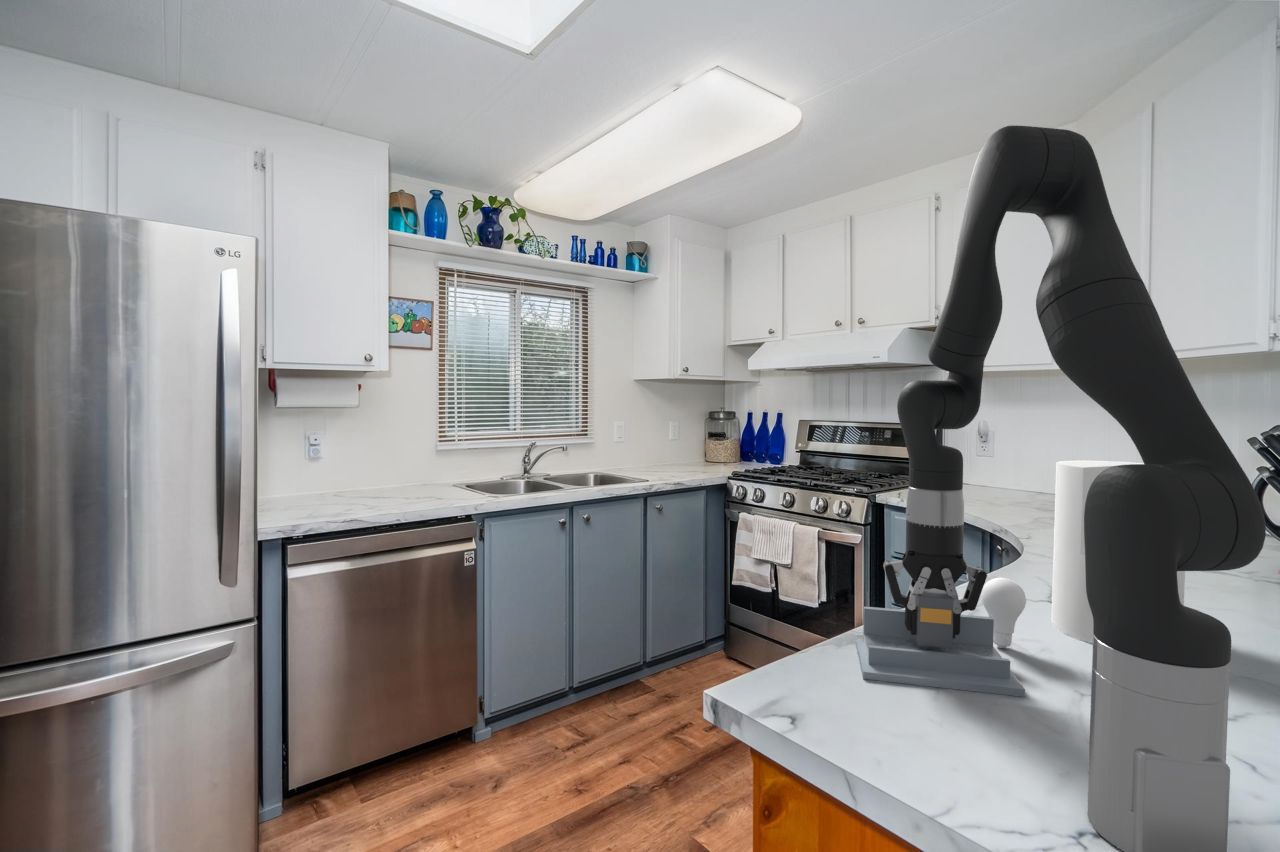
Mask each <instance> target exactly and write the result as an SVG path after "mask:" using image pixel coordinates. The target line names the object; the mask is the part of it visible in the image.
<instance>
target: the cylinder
mask: <svg viewBox="0 0 1280 852" xmlns="http://www.w3.org/2000/svg"><path fill="white" fill-rule="evenodd" d="M1130 464H1144V462H1134V461H1122V460H1121V461H1118V460H1093V459H1092V460H1090V459H1089V460H1087V459H1086V460H1081V459H1080V460H1076V459H1075V460H1060V461H1056V463H1055V489H1054V490H1055V493H1054V521H1053V522H1054V523H1053V551H1052V552H1053V553H1052V556H1053V557H1052V559H1053V560H1052V583H1051V584H1052V589H1051V616H1050V617H1051V620H1050V621H1051V625H1052V626H1053V627H1054V628H1055V629H1056V630H1057V631H1059V632H1060V633H1062V634H1065V635H1066V636H1068V635H1069V637H1071V638H1073V639H1076V640H1079V641H1082V642H1084V643H1088V644H1091V645H1093V626H1094V625H1093V615H1092V612H1091V609H1090V606H1089V602H1088V599H1087V593H1086V570H1085V541H1084V510H1085V502H1086V497H1087V494H1088V491H1089V488H1090V486H1091V484H1092V482H1093V481H1094V479H1095V478H1096V477H1097V476H1098V475H1099V474H1100V473H1101V472H1102V471H1104V470H1105V469H1107V468H1110V467H1113V466H1118V465H1130ZM1177 581H1178V593H1179V598H1180V602H1181V604H1182V605H1183V606H1185V585H1186V583H1185V581H1186V571H1177Z"/></svg>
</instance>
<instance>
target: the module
mask: <svg viewBox="0 0 1280 852" xmlns="http://www.w3.org/2000/svg"><path fill="white" fill-rule="evenodd" d="M916 610H917V628H916V635H913V636H914V638H915V640H916V642H917V644H918V645H921V646H931V647H942V648H952V642H953V598H949V597H948V596H947V594H946V593H945V591H944V590H938V589H935V588H933V589H924V591H923V593H922V596H921V595H918V596H917V606H916Z"/></svg>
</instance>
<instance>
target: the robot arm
mask: <svg viewBox="0 0 1280 852" xmlns="http://www.w3.org/2000/svg"><path fill="white" fill-rule="evenodd" d="M1007 212H1008V213H1009V212H1010V213H1011V212H1012V213H1022V214H1032V215H1036V216H1037V217H1038V218H1040V220H1041V221H1042V222H1043V224H1044V226H1045V229H1046V230H1047V233H1048V235H1049V239H1050V242H1051V245H1052V256H1051V258H1050V261H1049V263H1048V265H1047V267H1046V269H1045V271H1044V274H1043V276H1042V279H1041V281H1040V284H1039V286H1038V290H1037V292H1036V293H1037V294H1036V297H1035V298H1036V299H1035V307H1036V308H1035V309H1036V315H1037V319H1038V322H1039V324H1040V327H1041V330H1042V333H1043V336H1044V339H1045V341H1046V343H1047V347H1048V350H1049V352H1050V355H1051V357H1052V358H1053V360H1054V362H1055V364H1056V365H1057V366H1058V368H1059V369H1060V370H1061V371H1062V372H1063V374H1065V376H1066V377H1067V378H1068V379H1070V381H1071V382H1072V383H1073V384H1075V386H1077V387H1078V388H1079V389H1080V390H1081V391H1082V392H1083V393H1084V394H1086V395H1087V396H1088V397H1089V398H1090V399H1092V400H1093V401H1094V402H1095V403H1096V404H1098V405H1099V407H1101V408H1103V410H1105V411H1106V412H1107V413H1108V414H1109V415H1110V416H1111V417H1112V418H1114V420H1116V422H1118V424H1119V425H1120V426H1121V427H1122V428H1123V429H1124V430H1125V432H1126V433H1127V435H1128V436H1129V438H1130V439H1131V441H1132V442H1133V444H1134V446H1135V447H1136V450H1137V452H1138V453H1139V456H1140V457H1141V458H1140V459H1141V460H1142V463H1144V464H1130V465H1118V466H1113V467H1110V468H1107V469H1105V470H1104V471H1102V472H1101V473H1100V474H1099V475H1098V476H1097V477H1096V478H1095V479H1094V481H1093V482H1092V484H1091V486H1090V488H1089V491H1088V494H1087V497H1086V502H1085V510H1084V541H1085V570H1086V593H1087V599H1088V602H1089V606H1090V609H1091V612H1092V615H1093V625H1094V626H1093V644H1092V659H1091V660H1092V661H1091V662H1092V664H1091V685H1090V713H1089V714H1090V716H1089V718H1090V719H1089V721H1090V722H1089V747H1088V750H1089V751H1088V770H1087V771H1088V784H1087V786H1088V787H1087V813H1086V814H1087V817H1088V820H1089V823H1090V824H1091V826H1092V827H1093V829H1094V830H1095V831H1096V832H1097V833H1098V834H1099V835H1100V836H1101V837H1102V838H1103V839H1105V840H1107V842H1109V843H1110V844H1111V845H1113V846H1114V847H1116V848H1118V849H1120V850H1121V851H1122V852H1227V851H1228V832H1229V813H1230V811H1229V810H1230V809H1229V807H1230V788H1231V787H1230V785H1231V784H1230V783H1231V767H1230V766H1229V765H1228V763H1227V743H1228V721H1229V720H1228V718H1229V717H1228V715H1229V696H1230V677H1231V673H1230V672H1231V659H1232V635H1231V631H1230V630H1229V628H1228V627H1227V625H1225V623H1224V622H1222V621H1221V620H1219V619H1218V618H1216V617H1214V616H1212V615H1210V614H1208V613H1205V612H1202V611H1199V610H1197V609H1194V608H1191V607H1188V606H1186V605H1184V606H1183V605H1182V604H1181V602H1180V598H1179V593H1178V581H1177V571H1185V572H1219V571H1231V570H1237V569H1241V568H1243V567H1246V566H1248V565H1250V564H1251V563H1252V562H1253V561H1255V560H1256V559H1257V558H1258V556H1259V555H1260V554H1261V551H1262V550H1263V548H1264V544H1265V540H1266V534H1267V533H1266V531H1267V528H1266V527H1267V525H1266V519H1265V514H1264V510H1263V507H1262V503H1261V501H1260V499H1259V496H1258V494H1257V492H1256V490H1255V487H1254V486H1253V484H1252V482H1251V480H1250V479H1249V478H1248V476H1247V474H1246V472H1245V471H1244V469H1243V468H1242V466H1241V464H1240V463H1239V461H1238V460H1237V458H1236V456H1235V455H1234V453H1233V452H1232V450H1231V449H1230V447H1229V446H1228V444H1227V443H1226V441H1225V438H1223V436H1222V435H1221V433H1220V431H1219V430H1218V429H1217V427H1216V425H1215V424H1214V422H1213V421H1212V419H1211V417H1210V415H1209V413H1208V412H1207V410H1206V409H1205V408H1204V406H1203V403H1202V402H1201V401H1200V399H1199V397H1198V394H1197V393H1196V391H1195V390H1194V387H1193V385H1192V383H1191V381H1190V379H1189V377H1188V375H1187V373H1186V371H1185V369H1184V368H1183V366H1182V364H1181V362H1180V359H1179V358H1178V355H1177V354H1176V352H1175V350H1174V348H1173V345H1172V343H1171V342H1170V339H1169V338H1168V335H1167V333H1166V330H1165V328H1164V325H1163V323H1162V321H1161V320H1162V319H1161V317H1160V315H1159V312H1158V311H1157V308H1156V307H1155V304H1154V302H1153V300H1152V297H1151V296H1150V294H1149V292H1148V289H1147V287H1146V285H1145V283H1144V281H1143V279H1142V277H1141V275H1140V273H1139V272H1138V270H1137V268H1136V266H1135V263H1134V262H1133V259H1132V257H1131V255H1130V252H1129V250H1128V248H1127V246H1126V243H1125V242H1126V241H1124V238H1123V235H1122V233H1121V231H1120V228H1119V226H1118V224H1117V222H1116V219H1115V217H1114V213H1113V211H1112V208H1111V204H1110V201H1109V198H1108V194H1107V191H1106V188H1105V184H1104V179H1103V176H1102V173H1101V169H1100V167H1099V162H1098V159H1097V157H1096V155H1095V151H1094V149H1093V147H1092V145H1091V143H1090V142H1089V141H1088V140H1087V139H1086V137H1085V136H1083V135H1082V134H1080V133H1078V132H1075V131H1073V130H1069V129H1062V128H1052V127H1042V126H1041V127H1040V126H1029V125H1007V126H1004V127H1001V128H999V129H998V130H996V131H994V133H992V135H991V136H990V137H988V139H987V140H986V141H985V142H984V144H983V146H982V147H981V149H980V151H979V153H978V155H977V158H976V160H975V163H974V166H973V170H972V172H971V176H970V180H969V184H968V189H967V193H966V198H965V204H964V209H963V214H962V220H961V226H960V230H959V235H958V241H957V245H956V254H955V259H954V264H953V268H952V269H953V270H952V275H951V278H950V279H951V280H950V285H949V289H948V292H947V295H946V299H945V302H944V305H943V308H942V311H941V315H940V317H939V320H938V323H937V325H936V328H935V331H934V333H933V337H932V339H931V343H930V346H929V348H928V360H929V362H931V364H932V365H934V366H935V367H936V368H938V369H940V370H942V371H946V372H948V376H947V378H946V379H945V380H926V379H923V380H912V381H910V382H909V383H907V384H906V385H905V386H903V388H902V389H901V391H900V393H899V396H898V399H897V405H896V408H897V416H898V420H899V421H898V422H899V424H900V428H901V431H902V434H903V438H904V443H905V447H906V450H907V455H908V461H909V462H908V466H909V467H908V491H907V496H906V497H907V498H906V509H905V517H906V518H905V520H906V521H905V523H906V524H905V552H904V555H903V556H902V558H901V560H895V561H889V560H885V561H884V562H882V565H883V570H884V574H885V578H886V579H887V583H888V587H889V590H890V594H891V598H892V600H893V602H894V603H895V604H896V605H898V606H903V608H904V610H905V625H906V628H907V630H910V633H911V635H916V628H917V610H916V606H917V596H918V595H921V596H922V593H923V591H924V589H933V588H935V589H938V590H944V591H945V593H946V594H947V596H948V597H949V598H953V639H955V635H959V633H960V615H962V613H963V612H965V611H971V612H972V611H973V612H974V611H975V610H976V609H977V605H978V602H979V600H980V598H981V592H982V589H983V586H984V585H985V584H986V581H987V578H988V574H987V573H986V571H985V570H984V569H983V568H981V567H980V566H973V565H972V566H971V565H970V564H967V562H966V561H965V559H964V535H965V534H964V532H965V531H964V525H965V523H964V522H965V500H964V492H963V491H964V489H963V487H964V457H963V454H962V452H961V451H960V450H959V449H957V448H955V447H953V446H948V445H944V444H941V443H940V441H939V439H938V436H937V434H936V431H935V430H959V429H963V428H965V427H967V426H968V425H969V424H970V423H971V422H972V421H974V419H975V418H976V416H978V413H979V409H980V407H981V401H982V398H981V397H982V385H983V379H984V377H983V376H984V366H985V360H986V357H987V356H988V354H989V353H988V352H989V350H990V349H991V345H992V343H993V341H994V338H995V337H996V336H995V335H996V333H997V331H998V329H999V325H1000V322H1001V319H1002V314H1003V295H1002V290H1001V284H1000V283H1001V282H1000V278H999V274H998V268H997V262H996V261H997V259H996V246H997V245H996V244H997V238H998V235H999V234H998V233H999V230H1000V228H1001V225H1002V223H1003V220H1004V218H1005V216H1006V214H1007ZM903 569H904V570H905V571H906V572H907V573H908V575H909V576H910V579H911V580H910V582H909V586H908V589H907V592H906V595H904V594H902V593H901V588H900V585H899V581H898V577H900V576H901V572H902V570H903ZM964 573H966V578H967V580H968V583H967V586H966V590H965V592H964V595H963V598H962V599H961V598H960V599H959V595H958V591H957V589H956V586H955V585H956V582H957V581H958V580H959V579H960V578H961V577H962V576H963V575H964Z"/></svg>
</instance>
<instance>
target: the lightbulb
mask: <svg viewBox="0 0 1280 852" xmlns="http://www.w3.org/2000/svg"><path fill="white" fill-rule="evenodd" d="M1026 596H1027V595H1026V593H1025V591H1024V589H1023V588H1022V586H1020V585H1019V584H1018V583H1017V582H1016V581H1014V580H1012V579H1009V578H1006V577H996V578H992V579H990V580H988V581H987V582H985V584H984V586H983V589H982V592H981V595H980V598H981V603H982V605H983V607H984V608H985V611H986V612H987V614H988V617H992V618H993V619H994V632H993V645H996V646H997V647H998V648H1000V649H1006V648H1008V647H1011V646H1012V639H1013V634H1014V632H1015V626H1016V623H1017V620H1018V618H1019V617H1020V615H1021V614H1022V613H1023V611H1024V610H1025V608H1026V605H1027V597H1026Z"/></svg>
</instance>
